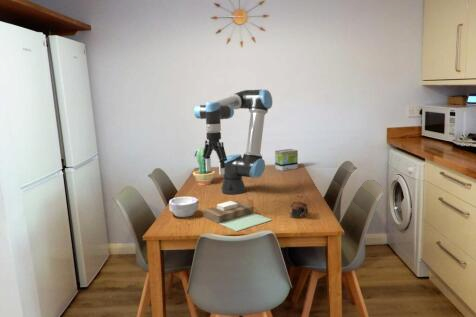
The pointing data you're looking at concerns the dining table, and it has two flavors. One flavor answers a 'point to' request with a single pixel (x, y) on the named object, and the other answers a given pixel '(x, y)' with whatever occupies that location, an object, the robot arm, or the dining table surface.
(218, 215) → the board
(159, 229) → the dining table surface
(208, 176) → the potted cactus
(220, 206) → the white flat block
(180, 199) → the white round bowl
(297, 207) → the pottery mug
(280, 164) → the tea box
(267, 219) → the mat
